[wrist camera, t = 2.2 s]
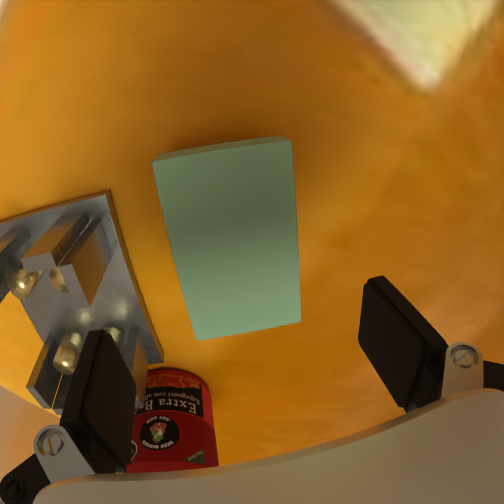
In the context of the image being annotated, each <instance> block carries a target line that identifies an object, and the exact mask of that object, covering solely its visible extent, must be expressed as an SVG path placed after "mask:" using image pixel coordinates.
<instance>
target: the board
mask: <svg viewBox="0 0 504 504" xmlns="http://www.w3.org/2000/svg"><path fill="white" fill-rule="evenodd" d="M152 166H153V171H154V176H155V181H156V185H157V190H158V195H159V199H160V204H161V208H162V213H163V217H164V222H165V226H166V230H167V234H168V238H169V243H170V247H171V251H172V255H173V259H174V262H175V266H176V270H177V274H178V278H179V281H180V285H181V289H182V292H183V296H184V300H185V303H186V307H187V310H188V313H189V317H190V320H191V324H192V327H193V330H194V334H195V337H196V340H197V341H199V340H205V339H211V338H218V337H223V336H229V335H235V334H241V333H246V332H252V331H257V330H262V329H267V328H272V327H277V326H282V325H287V324H292V323H297V322H301V310H300V276H299V251H298V230H297V211H296V195H295V180H294V166H293V153H292V141H291V140H289V139H287V138H284V137H282V136H272V137H263V138H255V139H247V140H239V141H232V142H225V143H219V144H212V145H206V146H200V147H195V148H189V149H183V150H178V151H173V152H168V153H163V154H158V155H157V156H156V157H155V159H154V160H153V161H152Z"/></svg>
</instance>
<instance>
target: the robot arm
mask: <svg viewBox="0 0 504 504" xmlns="http://www.w3.org/2000/svg"><path fill="white" fill-rule="evenodd" d="M358 341H359V344H360V346H361V348H362V349H363V351H364V353H365V354H366V356H367V357H368V359H369V360H370V362H371V364H372V365H373V367H374V368H375V370H376V371H377V373H378V375H379V376H380V378H381V379H382V381H383V383H384V384H385V386H386V387H387V389H388V391H389V392H390V394H391V396H392V397H393V399H394V400H395V402H396V404H397V405H398V406H399V407H403V408H404V410H405V412H406V413H407V414H405V415H402V416H400V417H397V418H395V419H392V420H390V421H387V422H385V423H382V424H380V425H377V426H374V427H372V428H369V429H366V430H363V431H361V432H358V433H355V434H352V435H349V436H346V437H343V438H340V439H337V440H333V441H330V442H327V443H323V444H320V445H317V446H313V447H309V448H306V449H302V450H298V451H294V452H290V453H286V454H282V455H277V456H273V457H268V458H263V459H259V460H253V461H248V462H242V463H236V464H230V465H224V466H217V467H209V468H201V469H192V470H181V471H168V472H151V473H127V465H130V463H131V451H132V435H133V422H134V411H135V400H136V383H135V381H134V379H133V377H132V375H131V373H130V371H129V370H128V368H127V366H126V364H125V362H124V360H123V358H122V356H121V354H120V352H119V350H118V348H117V346H116V344H115V342H114V340H113V338H112V335H111V334H110V333H106V331H105V330H104V329H100V330H93V331H89V332H88V334H87V337H86V340H85V343H84V346H83V349H82V352H81V355H80V358H79V361H78V364H77V367H76V369H75V371H74V373H73V376H72V380H71V383H70V386H69V390H68V393H67V397H66V401H65V404H64V408H63V412H62V415H61V419H60V423H59V425H48V426H46V427H44V428H43V429H41V430H40V431H39V432H38V434H37V435H36V437H35V440H34V451H35V453H34V454H33V455H32V456H30V457H29V458H28V459H27V460H25V461H24V462H23V463H22V464H20V465H19V466H17V467H16V468H15V469H13V470H12V471H11V472H9V473H8V474H7V475H6V476H5V477H4V478H3V479H2V480H1V483H0V504H504V365H503V364H498V363H494V362H489V361H484V360H483V356H482V353H481V352H480V350H479V349H478V348H477V347H476V346H474V345H473V344H471V343H468V342H455V343H453V344H451V345H450V346H448V345H447V343H446V341H445V340H444V339H443V338H442V337H441V335H440V334H439V333H438V332H437V331H436V330H435V329H434V328H433V327H432V326H431V324H430V323H429V322H428V321H427V320H426V319H425V318H424V317H423V316H422V315H421V314H420V313H419V312H418V310H417V309H416V308H415V307H414V306H413V305H412V304H411V303H410V302H409V301H408V300H407V299H406V298H405V297H404V296H403V295H402V294H401V293H400V292H399V291H398V290H397V289H396V288H395V287H394V286H393V285H392V284H391V283H390V282H389V281H388V280H387V279H386V278H385V277H384V276H378V277H374V278H370V279H368V281H367V283H366V284H364V288H363V299H362V309H361V318H360V326H359V334H358ZM417 408H418V409H417ZM415 409H416V410H415ZM413 410H414V411H413ZM410 411H412V412H410ZM408 412H409V413H408ZM116 472H118V473H116Z"/></svg>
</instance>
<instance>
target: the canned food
mask: <svg viewBox="0 0 504 504" xmlns="http://www.w3.org/2000/svg"><path fill="white" fill-rule="evenodd" d="M217 466H219V462H218V454H217V446H216V438H215V429H214V420H213V411H212V401H211V396H210V393H209V391H208V389H207V387H206V386H205V384H204V383H203V382H202V381H201V380H200V379H199V378H197V377H196V376H194V375H192V374H190V373H187V372H183V371H179V370H173V369H162V370H155V371H151V372H148V373H147V380H146V390H145V402H144V407H140V408H137V410H136V414H134V422H133V435H132V451H131V463H130V465H127V473H151V472H168V471H181V470H192V469H201V468H209V467H217Z"/></svg>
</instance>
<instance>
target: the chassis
mask: <svg viewBox="0 0 504 504" xmlns="http://www.w3.org/2000/svg"><path fill="white" fill-rule="evenodd" d="M9 291H11V293H12V294H13V295H14V296H15V297H17V298H19V299H20V301H21V303H22V305H23V307H24V309H25V311H26V312H27V314H28V316H29V318H30V320H31V322H32V323H33V325H34V327H35V329H36V330H37V332H38V334H39V336H40V337H41V339H42V341H43V342H44V345H43V348H42V350H41V352H40V354H39V357H38V359H37V361H36V364H35V366H34V368H33V371H32V373H31V376H30V378H29V381H28V383H27V386H26V388H27V389H28V390H29V392H30V393H31V394H32V395H33V397H34V398H35V399H36V400H37V401H38V403H39V404H40V405H41V406H42V407H43V408H45V409H51V408H52V404H53V401H54V397H55V394H56V391H57V388H58V385H59V382H60V385H59V388H58V391H57V394H56V397H55V401H54V404H53V408H52V409H53V410H54V412H55V413H56V414H57V415H62V412H63V408H64V404H65V401H66V397H67V393H68V390H69V386H70V383H71V380H72V376H73V373H74V371H75V369H76V367H77V364H78V361H79V358H80V355H81V352H82V349H83V346H84V343H85V340H86V337H87V334H88V332H89V331H93V330H100V329H104V330H105V331H106V333H110V334H111V335H112V338H113V340H114V342H115V344H116V346H117V348H118V350H119V352H120V354H121V356H122V358H123V360H124V362H125V364H126V366H127V368H128V370H129V371H130V373H131V375H132V377H133V379H134V381H135V383H136V400H135V411H134V414H136V410H137V408H140V407H144V402H145V390H146V380H147V370H148V364H156V363H164V352H163V350H162V348H161V345H160V343H159V340H158V338H157V335H156V333H155V330H154V327H153V325H152V322H151V320H150V317H149V314H148V312H147V309H146V306H145V303H144V301H143V298H142V295H141V292H140V289H139V286H138V284H137V281H136V278H135V275H134V272H133V269H132V266H131V262H130V259H129V256H128V253H127V250H126V246H125V243H124V240H123V236H122V233H121V230H120V226H119V223H118V219H117V215H116V212H115V208H114V204H113V200H112V196H111V192H110V190H107V191H103V192H99V193H95V194H91V195H87V196H83V197H80V198H76V199H72V200H68V201H65V202H61V203H57V204H54V205H50V206H47V207H43V208H40V209H37V210H33V211H30V212H27V213H24V214H20V215H17V216H14V217H11V218H8V219H5V220H2V221H0V303H1V302H2V300H3V299H4V298H5V296H6V295H7V293H8V292H9ZM62 374H63V375H62ZM61 376H62V378H61ZM60 379H61V381H60Z"/></svg>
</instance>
